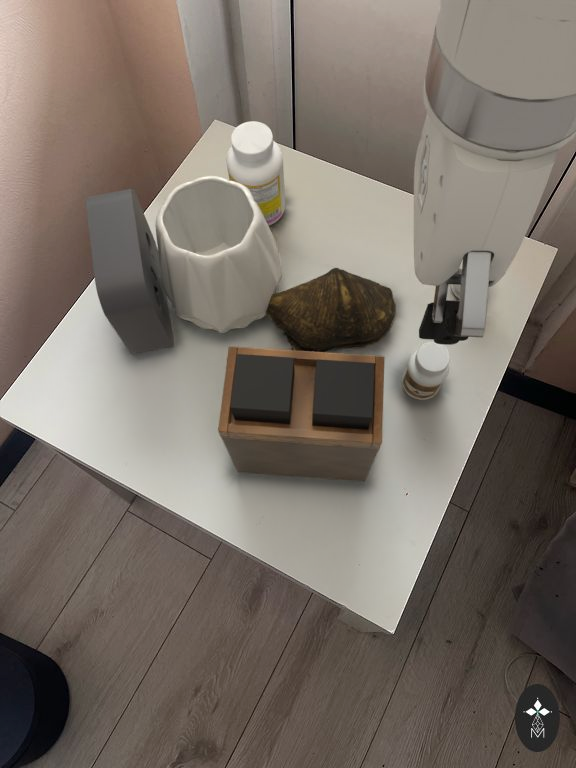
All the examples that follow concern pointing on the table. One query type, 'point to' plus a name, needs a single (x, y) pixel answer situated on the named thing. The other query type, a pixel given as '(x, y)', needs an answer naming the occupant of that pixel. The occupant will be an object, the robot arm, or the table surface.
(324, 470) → the box
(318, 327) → the seashell
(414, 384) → the pill bottle
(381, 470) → the table surface
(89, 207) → the streaming box
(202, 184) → the vase
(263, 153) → the supplement bottle
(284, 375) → the black cube
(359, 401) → the black square block
